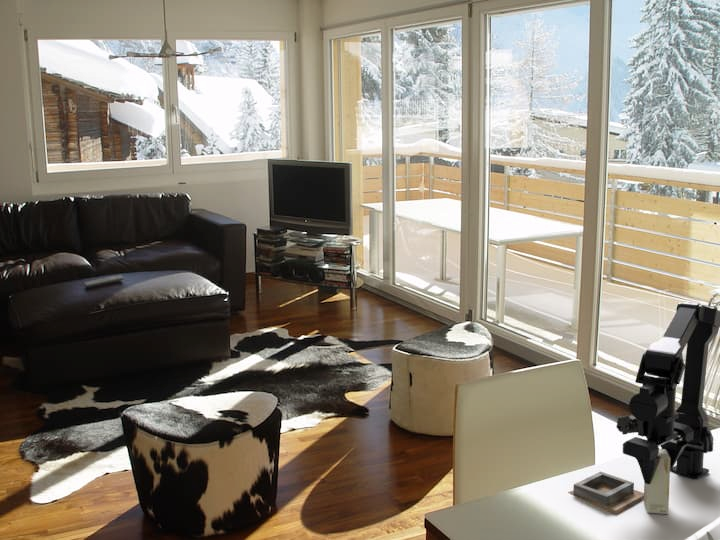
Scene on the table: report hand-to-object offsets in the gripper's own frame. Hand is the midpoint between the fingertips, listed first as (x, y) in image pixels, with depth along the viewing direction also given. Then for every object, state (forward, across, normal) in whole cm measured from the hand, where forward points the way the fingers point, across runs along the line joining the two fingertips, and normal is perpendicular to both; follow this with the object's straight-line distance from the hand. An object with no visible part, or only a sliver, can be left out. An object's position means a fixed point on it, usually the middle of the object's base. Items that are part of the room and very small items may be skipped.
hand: (656, 478), depth 173 cm
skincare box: (+7, 0, 0) cm, 7 cm away
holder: (+6, +3, -10) cm, 12 cm away
